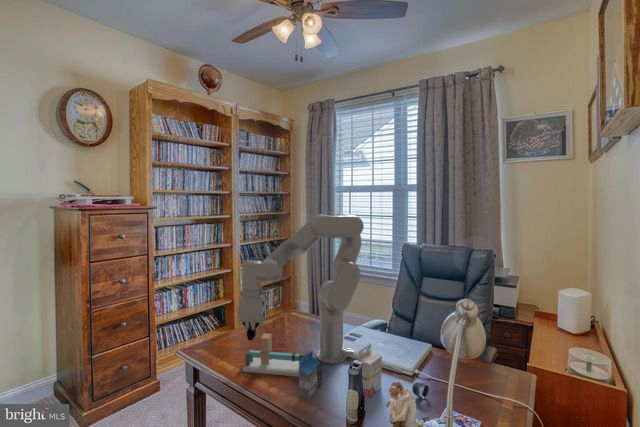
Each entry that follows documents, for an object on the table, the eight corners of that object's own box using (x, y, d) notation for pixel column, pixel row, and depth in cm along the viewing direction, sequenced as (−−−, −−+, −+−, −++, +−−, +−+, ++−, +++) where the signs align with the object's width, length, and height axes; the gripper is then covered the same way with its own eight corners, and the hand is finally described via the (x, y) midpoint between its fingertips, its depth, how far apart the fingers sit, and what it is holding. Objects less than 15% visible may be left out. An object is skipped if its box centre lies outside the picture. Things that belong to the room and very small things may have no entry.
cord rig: (308, 364, 130) (308, 347, 129) (304, 377, 121) (304, 358, 120) (251, 359, 134) (251, 342, 133) (242, 371, 125) (242, 353, 124)
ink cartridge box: (369, 399, 108) (369, 355, 107) (356, 393, 111) (357, 351, 110) (382, 387, 115) (382, 346, 114) (369, 382, 118) (370, 342, 117)
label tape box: (309, 400, 108) (309, 363, 107) (298, 396, 110) (298, 360, 109) (321, 386, 115) (322, 352, 115) (312, 383, 117) (312, 349, 116)
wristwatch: (412, 397, 109) (412, 382, 109) (425, 395, 110) (426, 380, 110) (416, 402, 106) (417, 387, 106) (430, 400, 107) (431, 385, 107)
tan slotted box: (271, 358, 130) (271, 333, 129) (268, 364, 125) (268, 338, 125) (264, 358, 130) (264, 333, 130) (260, 363, 126) (260, 338, 125)
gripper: (273, 291, 130) (272, 336, 131) (237, 288, 132) (237, 333, 133) (267, 296, 122) (266, 344, 123) (229, 293, 125) (229, 340, 126)
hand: (251, 338), depth 128 cm, fingers closed
